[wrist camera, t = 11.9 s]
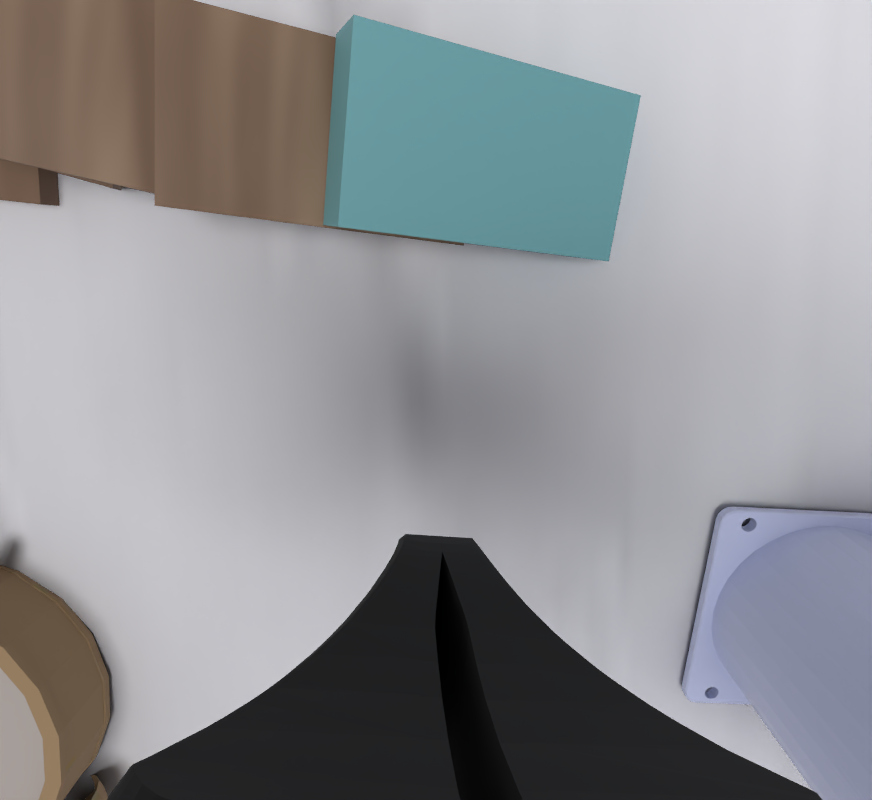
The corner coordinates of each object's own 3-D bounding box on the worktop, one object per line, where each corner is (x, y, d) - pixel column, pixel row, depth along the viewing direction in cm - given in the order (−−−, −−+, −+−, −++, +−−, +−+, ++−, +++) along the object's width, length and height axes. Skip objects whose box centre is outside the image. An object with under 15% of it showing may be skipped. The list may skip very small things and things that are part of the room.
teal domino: (640, 95, 16) (353, 15, 13) (608, 261, 17) (338, 226, 14) (602, 104, 17) (336, 34, 14) (575, 257, 18) (323, 224, 15)
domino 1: (312, 52, 15) (-75, -85, 12) (287, 223, 16) (-77, 141, 13) (301, 65, 17) (-47, -54, 13) (278, 221, 18) (-51, 147, 14)
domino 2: (485, 76, 16) (154, -10, 12) (463, 245, 17) (154, 205, 14) (460, 87, 17) (157, 12, 14) (442, 242, 18) (157, 205, 15)
